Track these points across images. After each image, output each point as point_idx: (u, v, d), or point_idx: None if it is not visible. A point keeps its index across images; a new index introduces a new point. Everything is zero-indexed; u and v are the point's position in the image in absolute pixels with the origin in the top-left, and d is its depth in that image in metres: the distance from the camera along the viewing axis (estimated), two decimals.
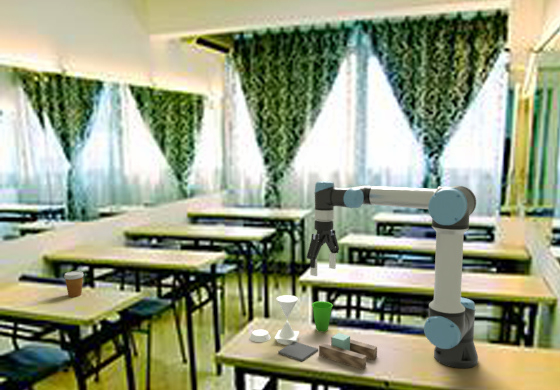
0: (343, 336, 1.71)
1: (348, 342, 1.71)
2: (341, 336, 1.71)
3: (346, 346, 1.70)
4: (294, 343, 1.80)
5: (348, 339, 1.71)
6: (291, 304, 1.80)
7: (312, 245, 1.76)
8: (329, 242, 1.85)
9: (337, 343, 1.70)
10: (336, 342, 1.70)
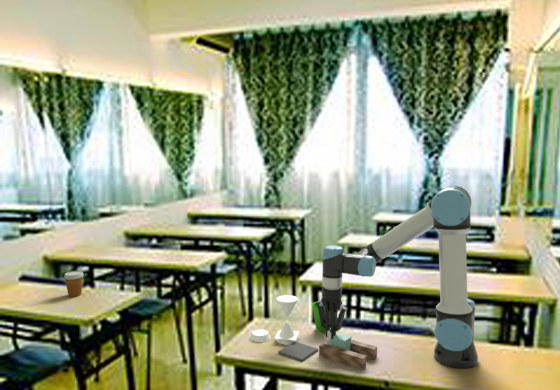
0: (345, 336, 1.71)
1: (349, 342, 1.71)
2: (343, 337, 1.71)
3: (346, 346, 1.70)
4: (294, 343, 1.80)
5: (349, 339, 1.71)
6: (291, 304, 1.80)
7: None
8: None
9: (338, 343, 1.69)
10: (337, 342, 1.70)
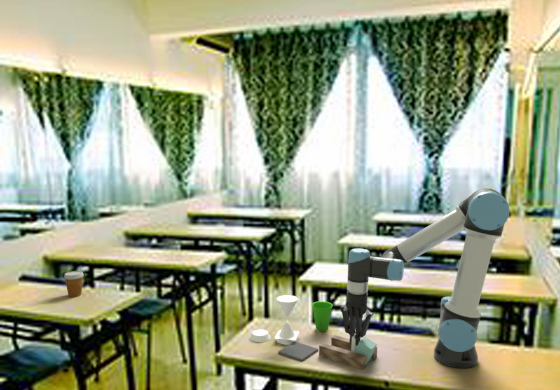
0: (370, 343, 1.65)
1: (373, 350, 1.65)
2: (369, 343, 1.65)
3: (370, 354, 1.64)
4: (294, 343, 1.80)
5: (374, 347, 1.65)
6: (291, 304, 1.80)
7: None
8: None
9: (363, 349, 1.63)
10: (362, 347, 1.64)
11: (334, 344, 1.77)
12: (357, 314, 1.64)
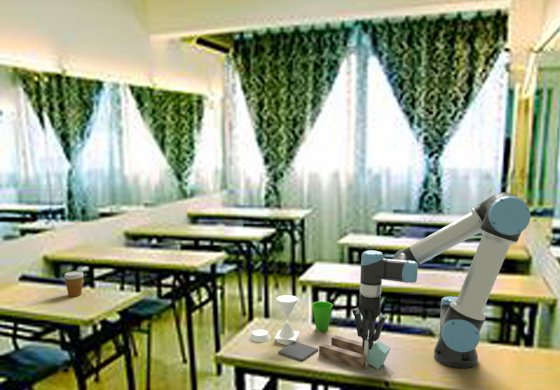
0: (384, 347, 1.62)
1: (387, 354, 1.62)
2: (382, 347, 1.61)
3: (384, 358, 1.61)
4: (294, 343, 1.80)
5: (388, 351, 1.62)
6: (291, 304, 1.80)
7: None
8: None
9: (377, 353, 1.60)
10: (375, 352, 1.60)
11: (334, 344, 1.77)
12: (370, 317, 1.61)
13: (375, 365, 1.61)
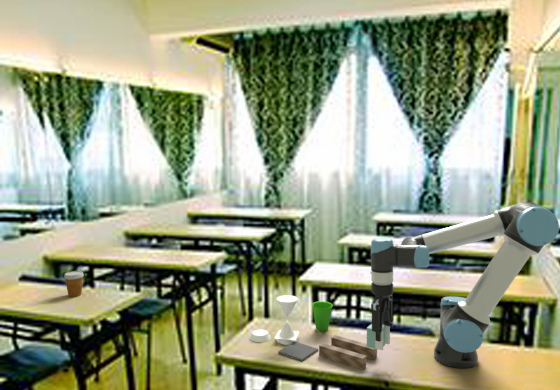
0: None
1: (384, 332, 1.62)
2: None
3: None
4: (294, 343, 1.80)
5: (384, 329, 1.62)
6: (291, 304, 1.80)
7: (375, 317, 1.56)
8: (386, 309, 1.61)
9: (373, 333, 1.61)
10: (371, 333, 1.61)
11: (334, 344, 1.77)
12: (388, 303, 1.61)
13: None
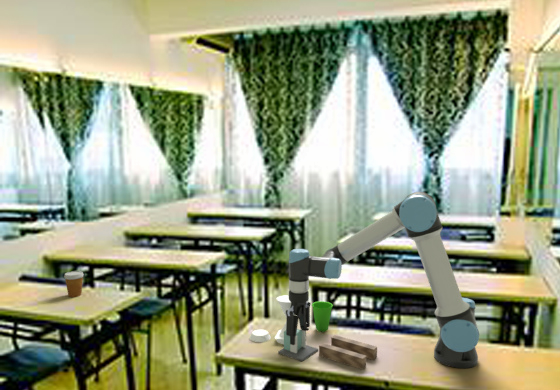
0: None
1: (300, 336, 1.75)
2: None
3: (297, 340, 1.73)
4: None
5: (300, 333, 1.74)
6: None
7: (289, 322, 1.68)
8: (302, 315, 1.73)
9: (289, 337, 1.73)
10: (288, 336, 1.73)
11: (334, 344, 1.77)
12: (304, 310, 1.73)
13: None
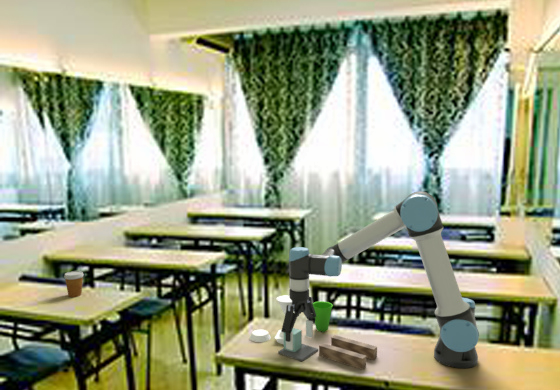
0: (295, 330, 1.75)
1: (299, 336, 1.75)
2: (293, 331, 1.74)
3: (297, 340, 1.73)
4: None
5: (299, 333, 1.74)
6: (291, 304, 1.80)
7: (287, 318, 1.66)
8: (305, 311, 1.75)
9: None
10: None
11: (334, 344, 1.77)
12: (306, 307, 1.73)
13: None
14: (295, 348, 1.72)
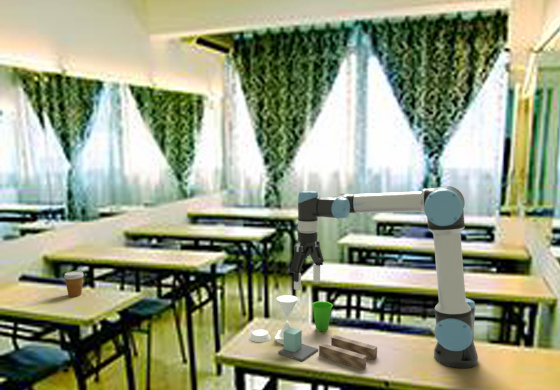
0: (295, 330, 1.75)
1: (299, 336, 1.75)
2: (293, 331, 1.74)
3: (297, 340, 1.73)
4: None
5: (299, 333, 1.74)
6: (291, 304, 1.80)
7: (295, 258, 1.69)
8: (313, 254, 1.77)
9: (288, 337, 1.73)
10: (287, 336, 1.73)
11: (334, 344, 1.77)
12: (314, 250, 1.76)
13: (291, 349, 1.73)
14: (295, 348, 1.72)
